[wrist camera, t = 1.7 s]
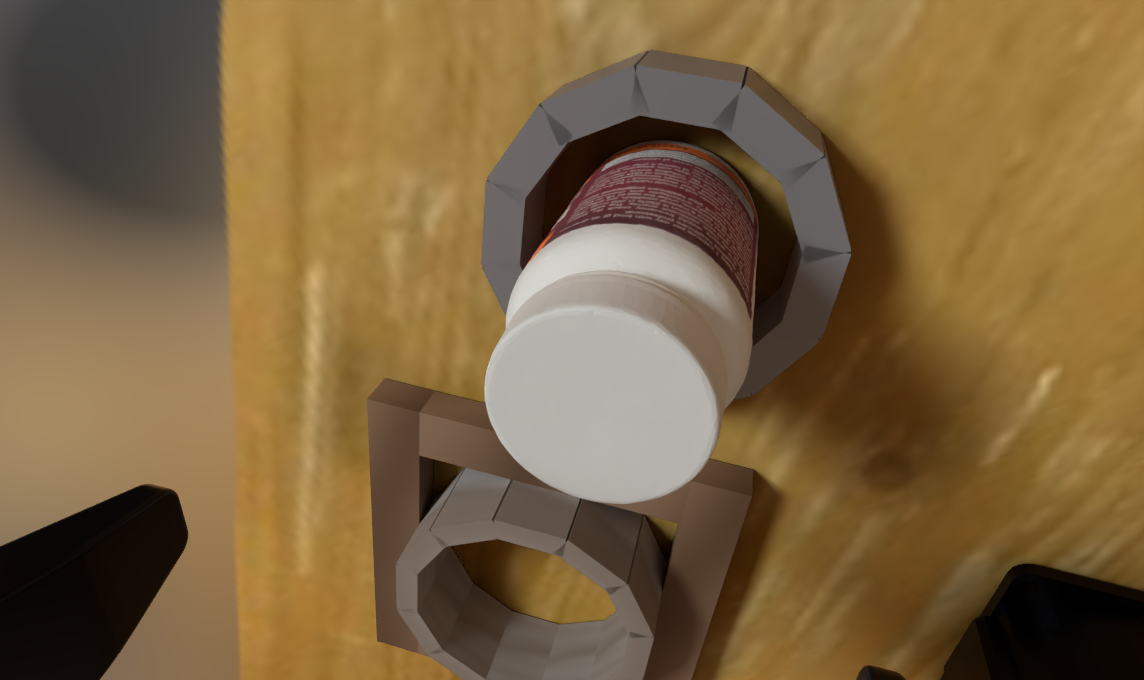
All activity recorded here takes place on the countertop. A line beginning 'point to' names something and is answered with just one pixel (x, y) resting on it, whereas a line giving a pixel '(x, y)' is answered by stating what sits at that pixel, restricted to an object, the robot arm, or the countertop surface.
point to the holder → (699, 100)
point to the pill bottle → (630, 327)
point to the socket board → (542, 522)
